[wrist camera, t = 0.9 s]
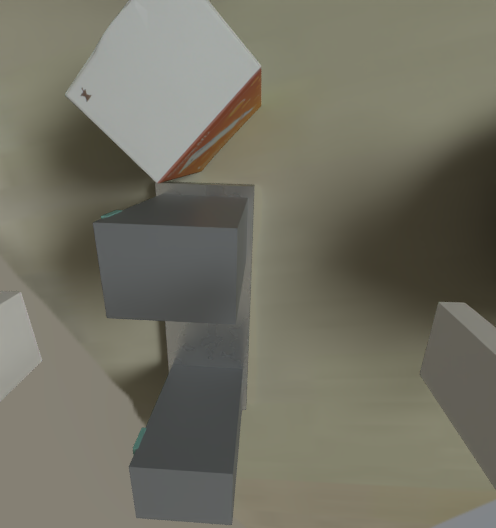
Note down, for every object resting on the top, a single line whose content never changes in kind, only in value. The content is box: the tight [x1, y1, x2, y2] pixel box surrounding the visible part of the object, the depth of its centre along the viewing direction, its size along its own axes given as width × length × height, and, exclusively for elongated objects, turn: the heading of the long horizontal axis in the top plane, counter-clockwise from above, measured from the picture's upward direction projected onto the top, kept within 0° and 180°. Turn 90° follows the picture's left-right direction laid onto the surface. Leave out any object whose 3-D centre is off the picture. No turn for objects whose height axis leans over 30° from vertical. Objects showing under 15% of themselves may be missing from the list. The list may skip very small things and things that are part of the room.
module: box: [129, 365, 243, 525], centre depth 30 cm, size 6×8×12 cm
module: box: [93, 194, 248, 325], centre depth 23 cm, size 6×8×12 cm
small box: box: [65, 0, 261, 183], centre depth 21 cm, size 8×6×13 cm
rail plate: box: [155, 182, 255, 410], centre depth 33 cm, size 26×9×2 cm, turn 178°
